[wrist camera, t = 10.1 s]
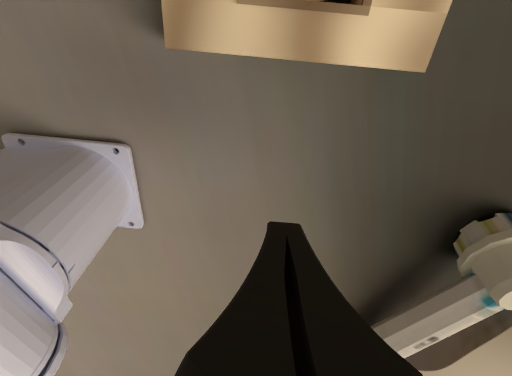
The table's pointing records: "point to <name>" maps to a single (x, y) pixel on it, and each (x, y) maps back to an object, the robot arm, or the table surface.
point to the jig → (310, 30)
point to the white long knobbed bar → (459, 290)
